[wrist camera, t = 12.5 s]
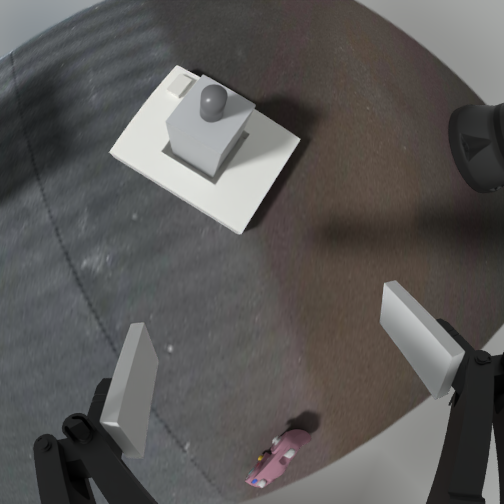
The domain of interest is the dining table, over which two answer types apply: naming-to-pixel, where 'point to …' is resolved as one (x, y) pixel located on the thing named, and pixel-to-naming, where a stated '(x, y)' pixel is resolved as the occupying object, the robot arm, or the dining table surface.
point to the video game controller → (277, 457)
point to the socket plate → (191, 179)
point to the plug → (207, 125)
